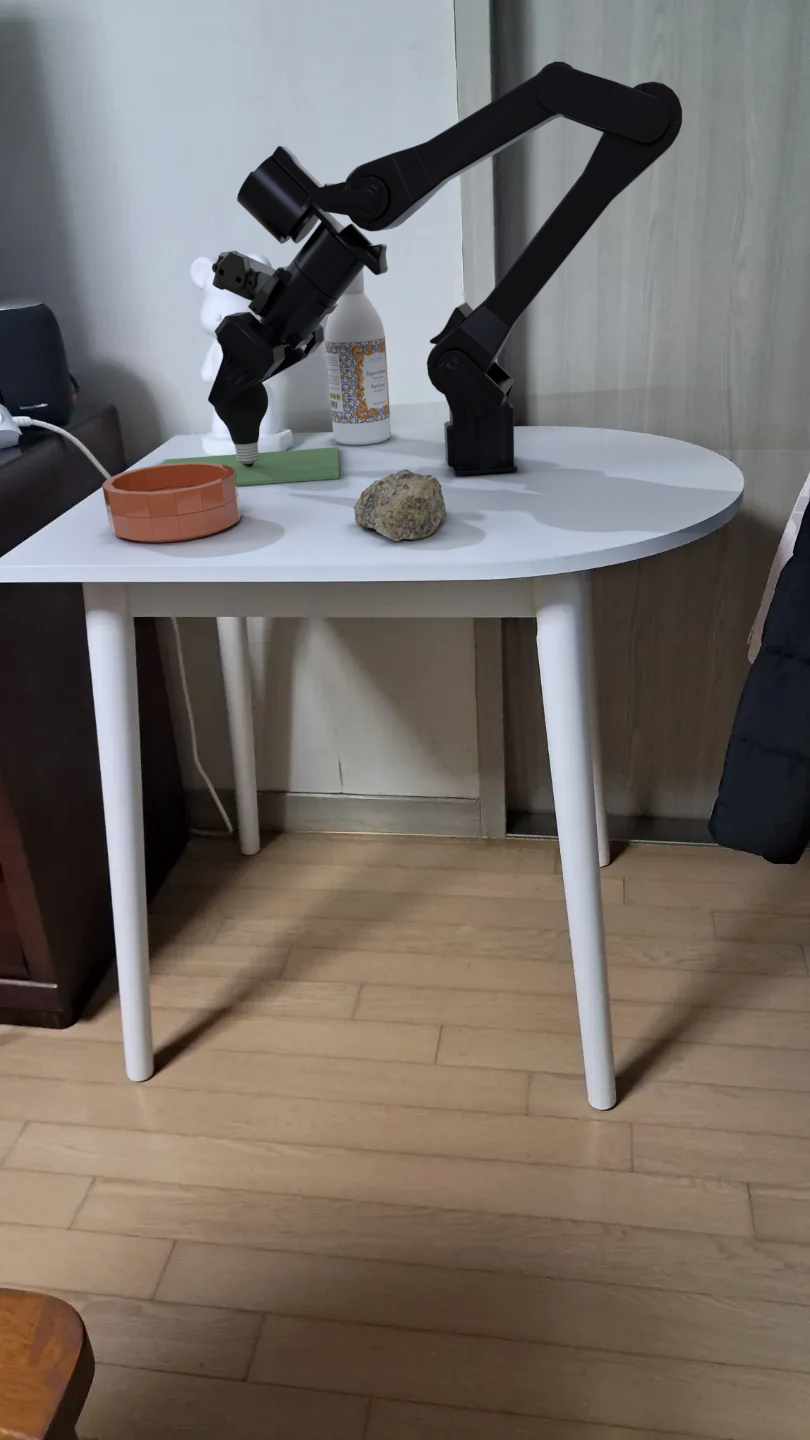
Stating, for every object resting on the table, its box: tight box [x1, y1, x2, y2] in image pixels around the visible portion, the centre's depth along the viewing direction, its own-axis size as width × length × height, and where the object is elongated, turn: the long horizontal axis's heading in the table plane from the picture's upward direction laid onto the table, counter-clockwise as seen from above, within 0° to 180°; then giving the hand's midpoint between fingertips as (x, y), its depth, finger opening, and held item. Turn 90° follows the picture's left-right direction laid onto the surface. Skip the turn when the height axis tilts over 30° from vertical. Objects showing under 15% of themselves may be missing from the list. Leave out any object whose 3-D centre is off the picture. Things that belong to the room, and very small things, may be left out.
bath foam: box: [324, 268, 392, 446], centre depth 120 cm, size 7×7×20 cm
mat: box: [162, 446, 340, 487], centre depth 113 cm, size 20×14×1 cm
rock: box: [353, 469, 447, 542], centre depth 88 cm, size 7×8×4 cm
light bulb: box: [213, 381, 269, 467], centre depth 111 cm, size 6×6×10 cm
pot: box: [101, 462, 242, 544], centre depth 93 cm, size 12×12×4 cm
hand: (227, 395), depth 110 cm, fingers open, 9 cm apart
